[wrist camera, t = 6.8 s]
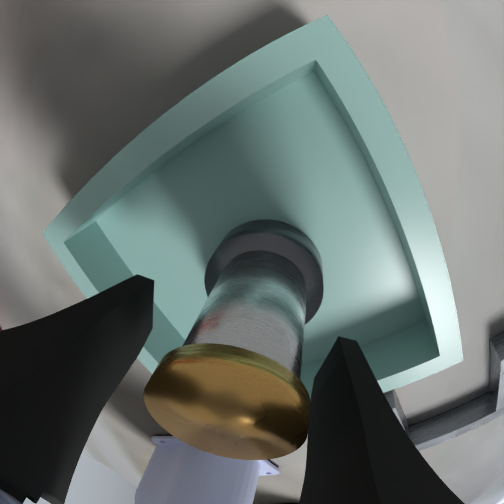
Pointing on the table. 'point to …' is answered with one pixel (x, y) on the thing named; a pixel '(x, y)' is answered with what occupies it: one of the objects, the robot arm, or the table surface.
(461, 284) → the table surface
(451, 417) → the bracket
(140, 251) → the tray
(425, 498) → the robot arm
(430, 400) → the table surface
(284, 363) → the glass jar
